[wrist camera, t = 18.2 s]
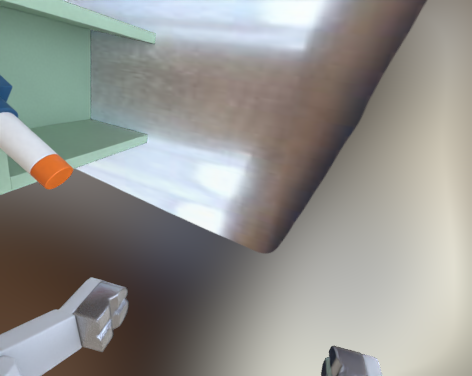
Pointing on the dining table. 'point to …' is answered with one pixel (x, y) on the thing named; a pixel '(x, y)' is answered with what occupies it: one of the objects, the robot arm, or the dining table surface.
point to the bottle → (29, 146)
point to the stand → (57, 81)
